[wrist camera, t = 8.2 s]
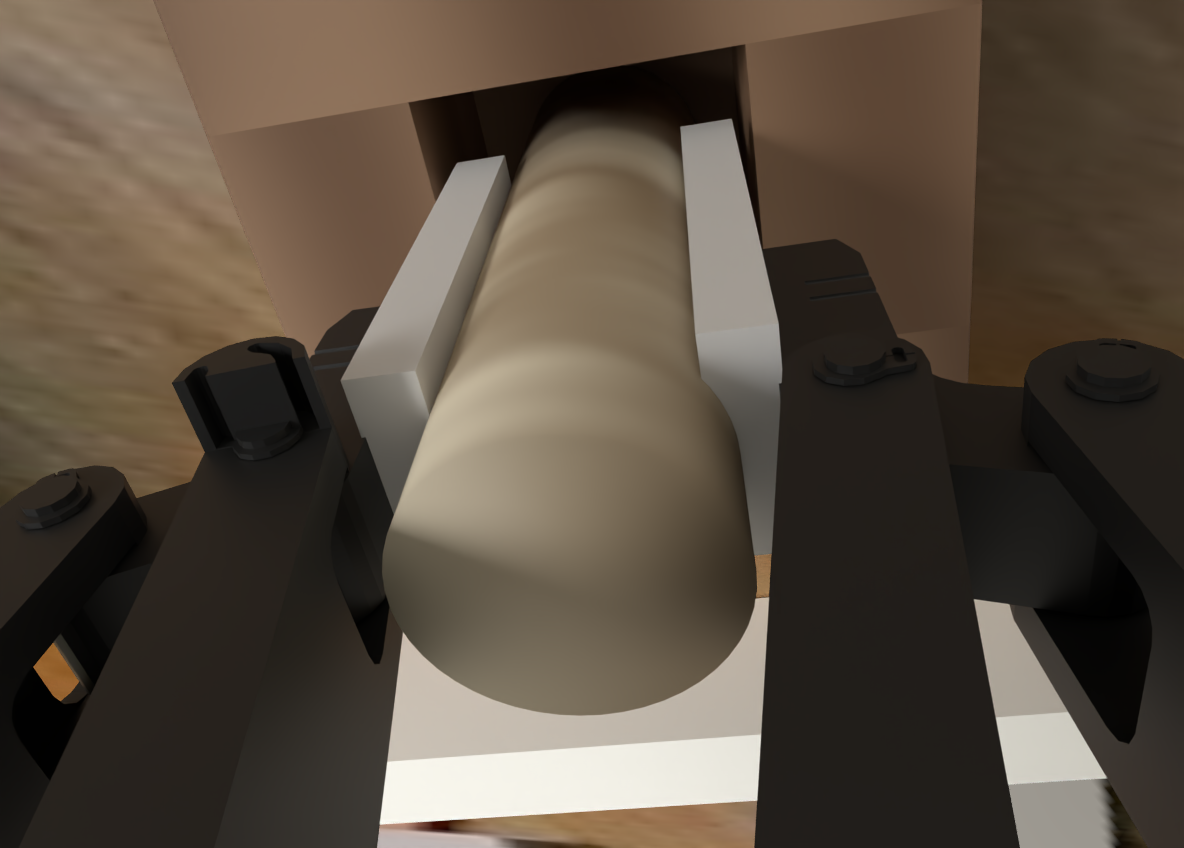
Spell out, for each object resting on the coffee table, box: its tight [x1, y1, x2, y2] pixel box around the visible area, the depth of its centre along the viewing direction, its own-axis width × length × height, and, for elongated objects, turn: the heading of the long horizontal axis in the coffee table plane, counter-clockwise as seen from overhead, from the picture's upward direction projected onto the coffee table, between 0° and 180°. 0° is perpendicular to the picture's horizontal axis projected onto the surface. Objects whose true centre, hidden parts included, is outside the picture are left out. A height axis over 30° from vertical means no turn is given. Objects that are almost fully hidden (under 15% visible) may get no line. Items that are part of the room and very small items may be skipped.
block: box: [153, 0, 982, 383], centre depth 17 cm, size 11×11×5 cm
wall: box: [380, 597, 1107, 824], centre depth 25 cm, size 20×2×4 cm, turn 100°
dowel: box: [382, 65, 757, 716], centre depth 13 cm, size 3×3×12 cm
